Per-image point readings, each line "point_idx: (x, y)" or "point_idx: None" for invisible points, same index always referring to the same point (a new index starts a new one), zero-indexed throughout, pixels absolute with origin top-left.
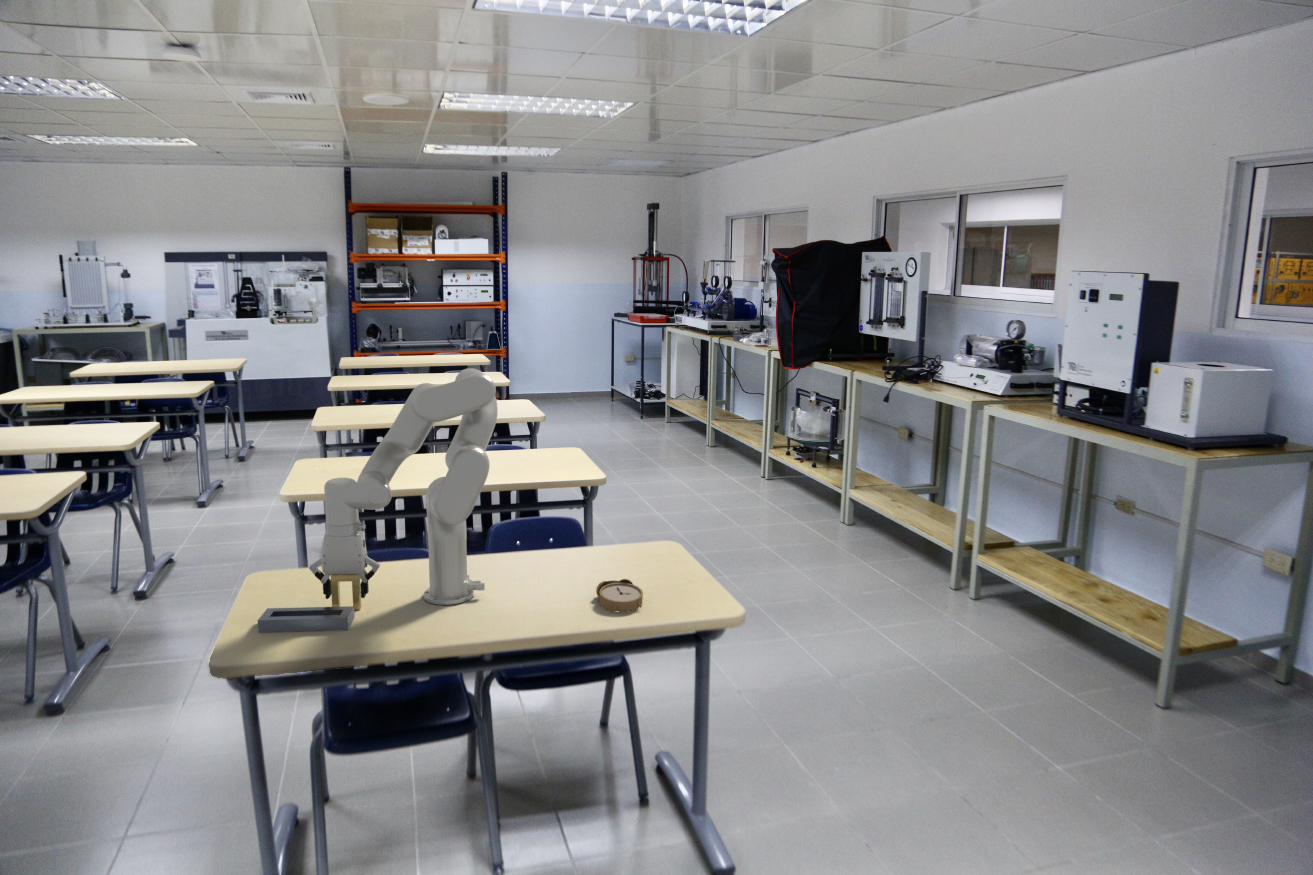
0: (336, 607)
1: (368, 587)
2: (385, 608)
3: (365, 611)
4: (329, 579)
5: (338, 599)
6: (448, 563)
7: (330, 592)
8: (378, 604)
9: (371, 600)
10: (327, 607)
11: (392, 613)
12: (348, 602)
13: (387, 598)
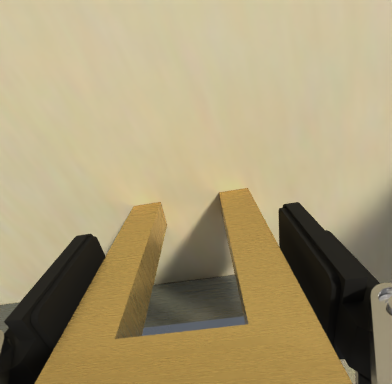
0: (193, 327)
1: (341, 243)
2: (357, 185)
3: (275, 221)
4: (21, 324)
5: (158, 258)
6: None
7: (95, 266)
8: (319, 144)
9: (273, 95)
10: (157, 329)
11: (389, 227)
12: (164, 137)
13: (360, 51)
